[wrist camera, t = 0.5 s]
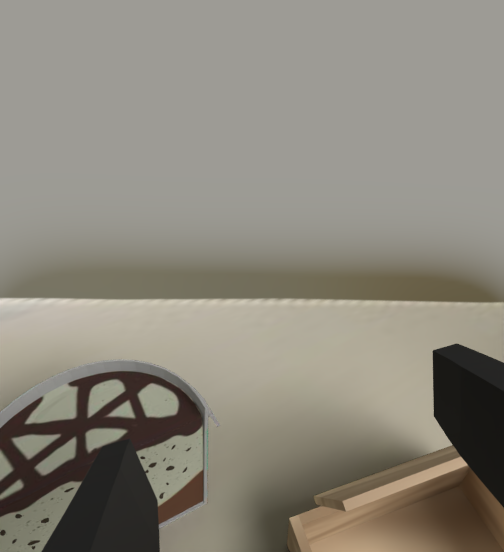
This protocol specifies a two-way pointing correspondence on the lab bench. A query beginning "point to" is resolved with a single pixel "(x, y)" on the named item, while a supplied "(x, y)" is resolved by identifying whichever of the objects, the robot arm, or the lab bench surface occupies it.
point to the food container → (98, 443)
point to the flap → (391, 480)
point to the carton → (409, 521)
